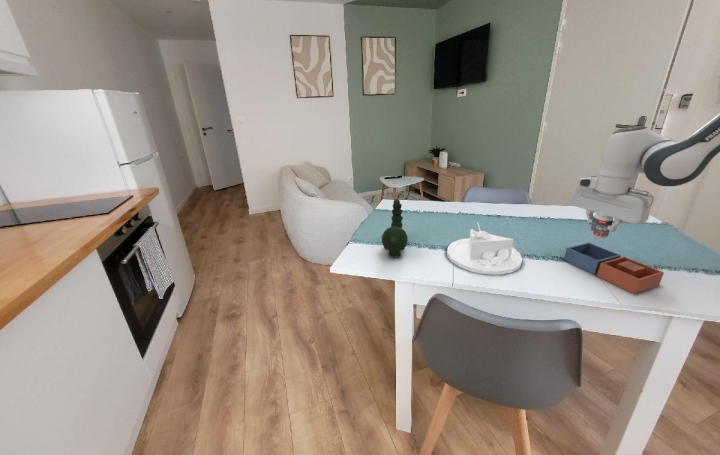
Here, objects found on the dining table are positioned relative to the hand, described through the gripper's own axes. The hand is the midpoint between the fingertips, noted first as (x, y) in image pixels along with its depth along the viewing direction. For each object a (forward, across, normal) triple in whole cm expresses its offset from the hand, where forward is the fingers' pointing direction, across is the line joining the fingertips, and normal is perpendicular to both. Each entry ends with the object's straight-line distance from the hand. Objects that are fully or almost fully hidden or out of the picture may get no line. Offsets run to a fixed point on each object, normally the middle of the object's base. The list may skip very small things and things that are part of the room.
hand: (600, 227), depth 91 cm
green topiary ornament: (+13, +36, +54) cm, 66 cm away
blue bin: (+13, 0, 0) cm, 13 cm away
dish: (+13, +18, +28) cm, 36 cm away
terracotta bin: (+13, -11, 0) cm, 17 cm away
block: (+13, -11, 0) cm, 17 cm away
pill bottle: (+3, 0, 0) cm, 3 cm away
